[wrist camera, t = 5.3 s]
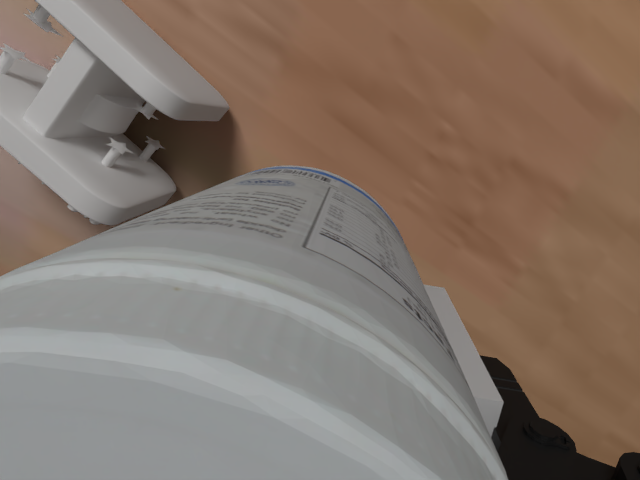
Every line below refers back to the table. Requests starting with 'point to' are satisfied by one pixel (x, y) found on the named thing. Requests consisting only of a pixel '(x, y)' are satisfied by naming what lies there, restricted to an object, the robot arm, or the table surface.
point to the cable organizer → (98, 108)
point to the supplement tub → (236, 347)
